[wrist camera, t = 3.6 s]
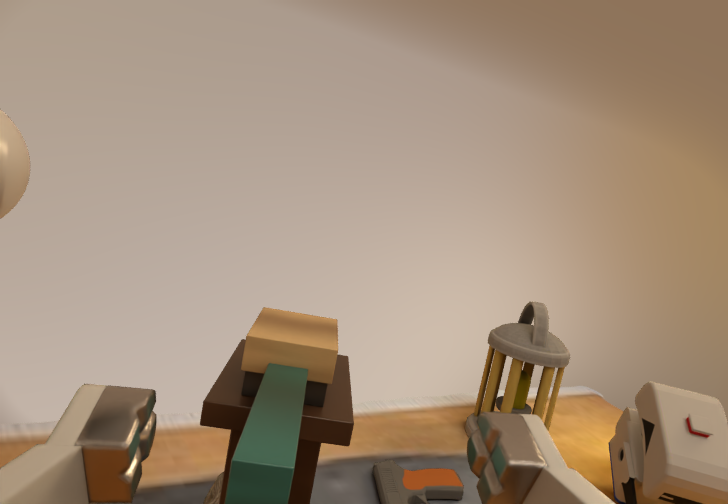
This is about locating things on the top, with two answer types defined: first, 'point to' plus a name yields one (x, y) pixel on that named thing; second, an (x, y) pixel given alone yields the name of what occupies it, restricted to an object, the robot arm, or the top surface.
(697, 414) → the robotic device
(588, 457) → the top surface
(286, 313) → the brush
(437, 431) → the top surface
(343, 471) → the top surface
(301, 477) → the stand
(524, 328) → the lantern
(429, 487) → the handgun
